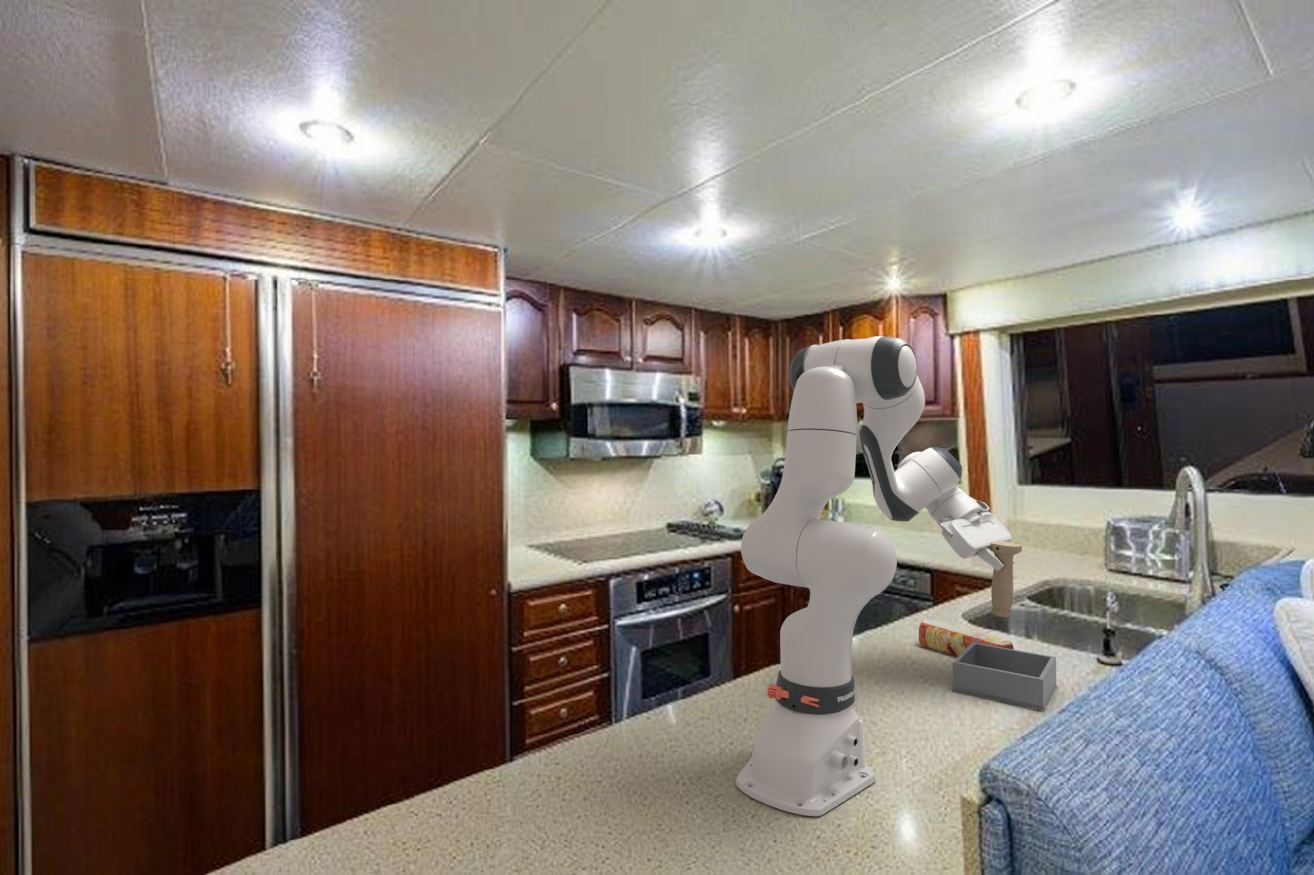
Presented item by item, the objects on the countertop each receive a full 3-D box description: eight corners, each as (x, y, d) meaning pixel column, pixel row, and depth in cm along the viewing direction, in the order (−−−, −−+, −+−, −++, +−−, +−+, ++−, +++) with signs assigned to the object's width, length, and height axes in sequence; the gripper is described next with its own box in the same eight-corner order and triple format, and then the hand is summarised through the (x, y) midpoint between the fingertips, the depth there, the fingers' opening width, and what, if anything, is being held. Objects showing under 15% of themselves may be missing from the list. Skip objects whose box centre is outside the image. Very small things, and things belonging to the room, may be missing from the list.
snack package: (1017, 667, 146) (1016, 637, 146) (1000, 673, 142) (1000, 642, 142) (932, 642, 164) (932, 616, 164) (916, 647, 160) (915, 620, 160)
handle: (992, 609, 137) (995, 539, 137) (1023, 618, 132) (1026, 545, 131) (979, 613, 135) (982, 541, 134) (1010, 621, 129) (1013, 547, 129)
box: (1043, 711, 122) (1042, 679, 122) (952, 691, 132) (952, 662, 132) (1056, 685, 134) (1056, 657, 134) (972, 669, 144) (972, 642, 144)
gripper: (945, 509, 131) (996, 564, 124) (988, 502, 145) (1036, 551, 137) (924, 529, 135) (973, 583, 127) (968, 520, 148) (1014, 569, 141)
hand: (1006, 567), depth 133 cm, fingers closed on handle, 3 cm apart
